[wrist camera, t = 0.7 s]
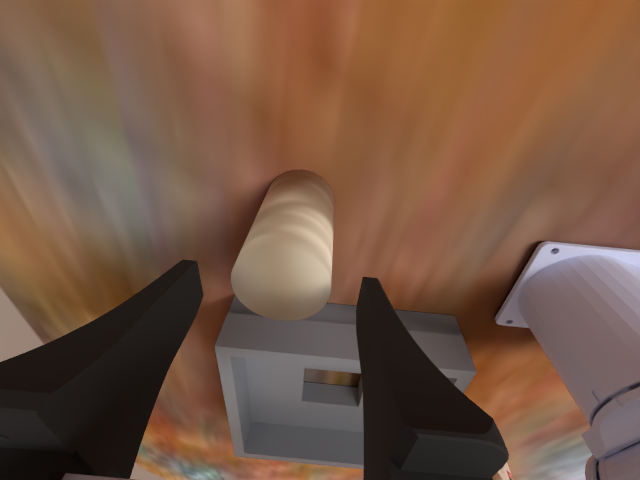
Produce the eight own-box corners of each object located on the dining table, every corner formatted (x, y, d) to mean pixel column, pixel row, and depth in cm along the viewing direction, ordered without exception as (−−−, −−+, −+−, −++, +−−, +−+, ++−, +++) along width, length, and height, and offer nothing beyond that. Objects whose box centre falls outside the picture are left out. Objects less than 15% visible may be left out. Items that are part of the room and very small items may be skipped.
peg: (338, 173, 19) (336, 251, 12) (330, 233, 21) (326, 325, 15) (266, 166, 19) (225, 241, 12) (267, 227, 21) (234, 316, 15)
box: (454, 315, 25) (476, 371, 21) (403, 422, 35) (411, 474, 31) (235, 294, 25) (214, 346, 21) (247, 406, 35) (235, 456, 31)
